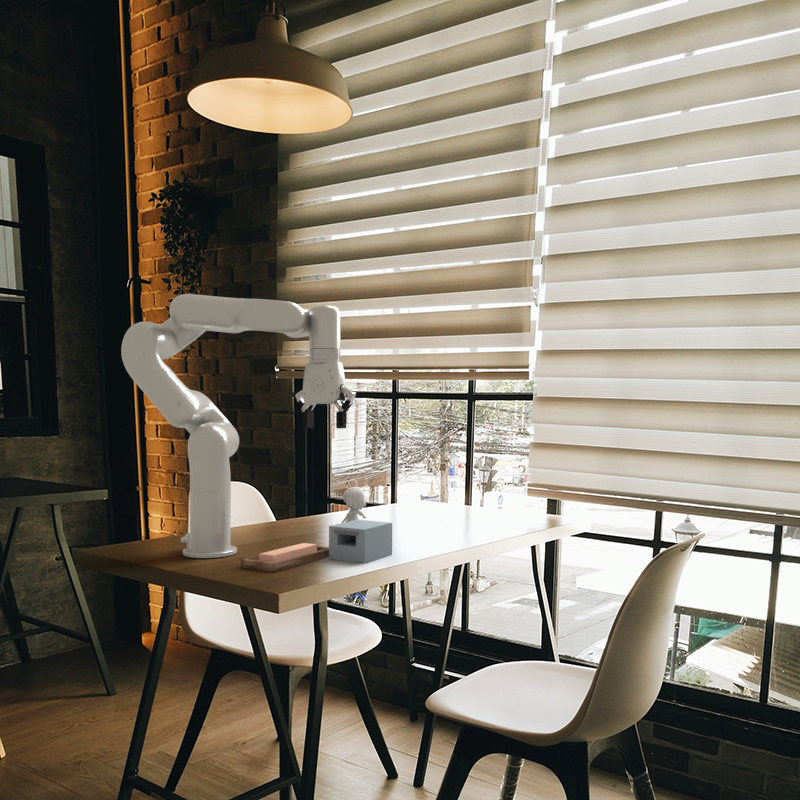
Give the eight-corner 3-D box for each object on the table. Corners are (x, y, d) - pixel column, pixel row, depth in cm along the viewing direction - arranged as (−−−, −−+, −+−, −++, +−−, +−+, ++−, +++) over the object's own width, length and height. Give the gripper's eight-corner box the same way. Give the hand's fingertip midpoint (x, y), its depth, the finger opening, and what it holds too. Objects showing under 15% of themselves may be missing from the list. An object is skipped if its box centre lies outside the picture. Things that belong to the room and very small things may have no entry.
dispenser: (327, 559, 168) (327, 526, 169) (357, 550, 179) (357, 519, 179) (363, 563, 163) (363, 529, 164) (392, 554, 174) (392, 522, 174)
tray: (240, 567, 159) (241, 559, 159) (302, 551, 178) (302, 544, 178) (274, 572, 154) (274, 563, 154) (334, 555, 173) (334, 547, 173)
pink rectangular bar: (258, 563, 160) (259, 553, 160) (303, 551, 174) (303, 542, 174) (273, 564, 158) (273, 555, 158) (317, 553, 172) (317, 544, 172)
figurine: (357, 540, 193) (357, 484, 193) (375, 543, 190) (376, 485, 190) (332, 546, 184) (332, 487, 185) (351, 549, 181) (351, 489, 181)
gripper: (287, 357, 176) (287, 428, 176) (344, 354, 167) (345, 428, 167) (306, 359, 183) (306, 427, 182) (363, 356, 174) (363, 428, 173)
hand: (324, 428), depth 175 cm, fingers open, 9 cm apart
